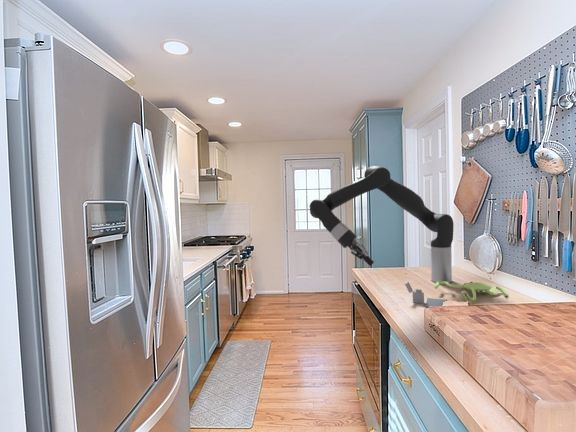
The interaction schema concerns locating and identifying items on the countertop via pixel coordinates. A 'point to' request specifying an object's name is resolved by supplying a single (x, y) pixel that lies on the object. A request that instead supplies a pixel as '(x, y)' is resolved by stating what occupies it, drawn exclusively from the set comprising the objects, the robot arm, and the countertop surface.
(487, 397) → the countertop surface
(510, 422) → the countertop surface
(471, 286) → the figurine
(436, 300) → the slate pad
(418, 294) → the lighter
